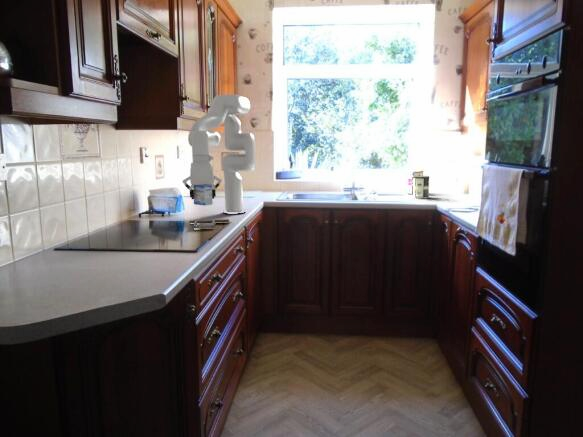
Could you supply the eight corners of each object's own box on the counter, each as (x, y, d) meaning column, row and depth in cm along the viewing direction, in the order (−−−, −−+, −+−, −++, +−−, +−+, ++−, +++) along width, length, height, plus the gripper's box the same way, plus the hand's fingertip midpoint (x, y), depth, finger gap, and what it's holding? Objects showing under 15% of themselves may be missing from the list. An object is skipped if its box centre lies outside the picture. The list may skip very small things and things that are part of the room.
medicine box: (193, 204, 200) (192, 185, 199) (201, 203, 204) (200, 184, 202) (205, 205, 195) (204, 185, 194) (213, 204, 199) (212, 185, 197)
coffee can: (426, 196, 302) (426, 175, 300) (430, 198, 292) (431, 176, 289) (410, 196, 302) (411, 175, 300) (414, 198, 292) (415, 176, 290)
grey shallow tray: (195, 225, 207) (195, 220, 207) (214, 224, 208) (214, 220, 208) (193, 230, 194) (192, 226, 194) (214, 229, 196) (213, 225, 195)
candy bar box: (412, 194, 313) (413, 171, 310) (406, 194, 317) (407, 170, 314) (422, 193, 319) (423, 170, 317) (417, 192, 323) (417, 170, 321)
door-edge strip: (190, 224, 208) (189, 220, 208) (229, 223, 211) (228, 219, 210) (189, 225, 207) (189, 220, 207) (229, 223, 210) (228, 219, 209)
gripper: (221, 158, 201) (222, 197, 204) (181, 159, 199) (183, 198, 202) (221, 159, 194) (222, 199, 197) (180, 160, 191) (182, 200, 194)
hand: (203, 198), depth 199 cm, fingers closed on medicine box, 8 cm apart
